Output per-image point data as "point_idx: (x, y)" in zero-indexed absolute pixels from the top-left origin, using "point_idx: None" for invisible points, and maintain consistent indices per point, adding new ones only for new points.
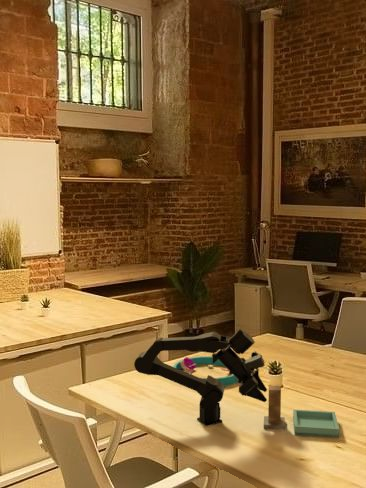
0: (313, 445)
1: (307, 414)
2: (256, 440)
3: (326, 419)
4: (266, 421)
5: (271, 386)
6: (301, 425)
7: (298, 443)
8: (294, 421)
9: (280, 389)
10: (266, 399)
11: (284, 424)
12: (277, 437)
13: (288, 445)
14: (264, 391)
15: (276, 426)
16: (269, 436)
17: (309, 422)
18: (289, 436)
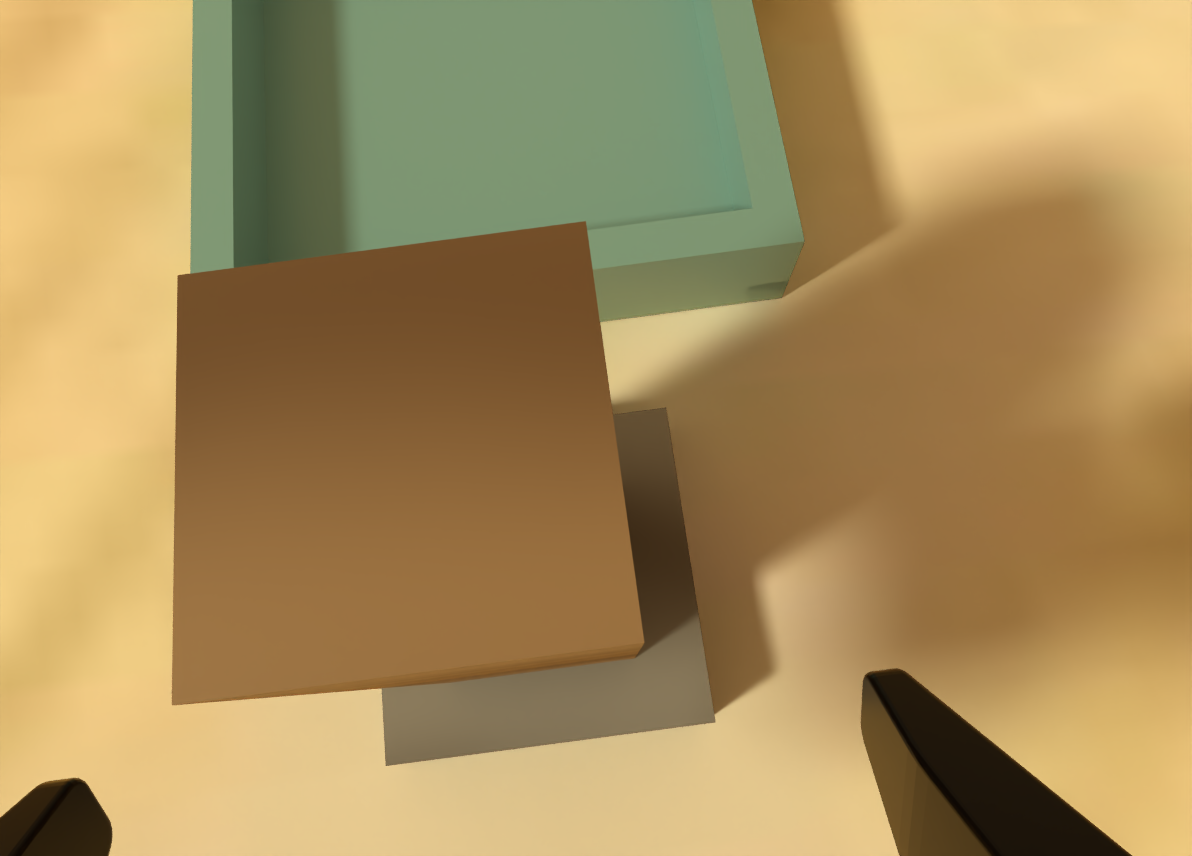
0: (970, 87)
1: (252, 161)
2: (1130, 765)
3: None
4: (587, 695)
5: (263, 584)
6: (550, 224)
7: (986, 236)
8: (632, 262)
9: (503, 244)
10: (905, 678)
11: (624, 420)
12: (918, 491)
13: (1090, 336)
14: (104, 854)
15: (681, 529)
16: (929, 599)
17: (435, 145)
18: (833, 352)
